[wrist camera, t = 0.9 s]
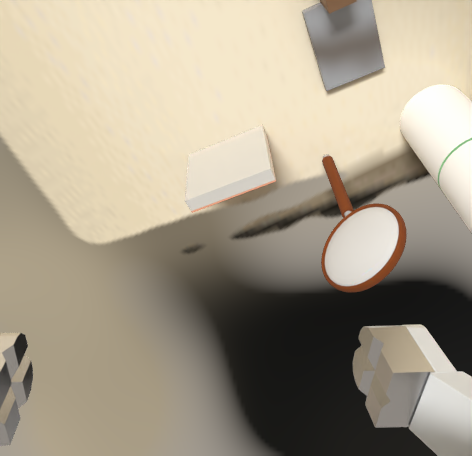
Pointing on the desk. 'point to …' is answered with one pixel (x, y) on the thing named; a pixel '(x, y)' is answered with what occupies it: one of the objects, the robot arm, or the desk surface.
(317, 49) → the turner
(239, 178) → the glazed tile
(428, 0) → the desk surface
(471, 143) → the cylindrical container
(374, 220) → the magnifying glass
